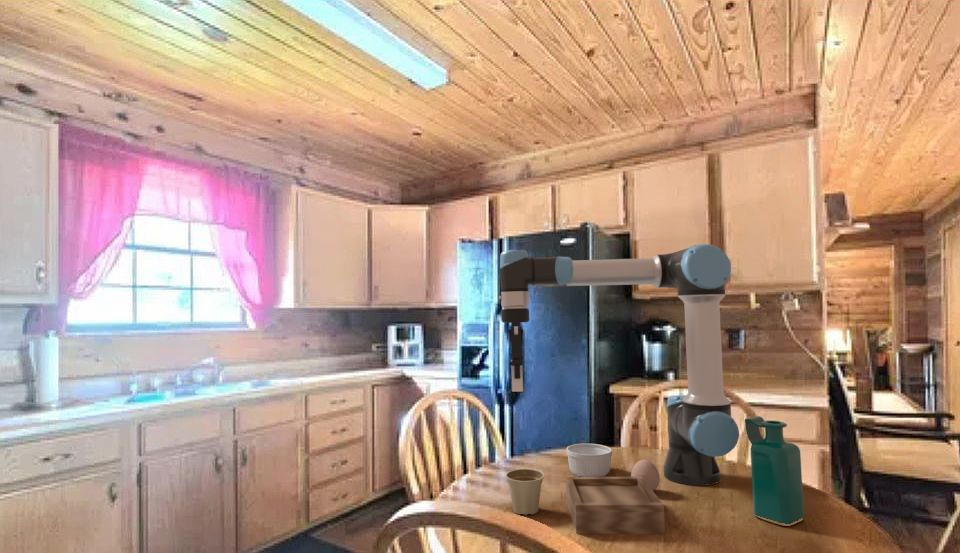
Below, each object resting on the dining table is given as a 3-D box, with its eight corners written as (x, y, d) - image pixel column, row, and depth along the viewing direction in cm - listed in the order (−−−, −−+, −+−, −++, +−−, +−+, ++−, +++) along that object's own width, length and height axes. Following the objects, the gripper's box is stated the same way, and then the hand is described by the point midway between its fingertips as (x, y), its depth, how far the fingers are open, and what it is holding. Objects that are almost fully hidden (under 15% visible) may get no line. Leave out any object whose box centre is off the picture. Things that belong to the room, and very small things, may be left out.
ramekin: (605, 465, 164) (605, 442, 164) (618, 479, 151) (617, 454, 151) (563, 466, 163) (562, 443, 164) (572, 480, 150) (571, 455, 151)
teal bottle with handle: (807, 520, 120) (802, 421, 121) (787, 529, 115) (782, 426, 116) (765, 507, 128) (760, 414, 129) (744, 515, 123) (740, 419, 125)
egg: (656, 499, 135) (654, 465, 135) (628, 494, 139) (627, 461, 139) (663, 490, 141) (661, 458, 141) (636, 485, 145) (635, 454, 145)
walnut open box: (642, 503, 133) (641, 476, 134) (665, 535, 114) (663, 504, 115) (566, 503, 134) (565, 477, 135) (576, 535, 115) (575, 505, 116)
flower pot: (543, 519, 123) (542, 481, 124) (503, 517, 125) (502, 480, 126) (546, 504, 132) (545, 469, 133) (509, 502, 134) (508, 468, 135)
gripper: (501, 307, 155) (503, 380, 154) (500, 308, 130) (502, 395, 129) (527, 307, 155) (529, 380, 154) (531, 307, 130) (533, 394, 129)
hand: (517, 387), depth 141 cm, fingers open, 13 cm apart
